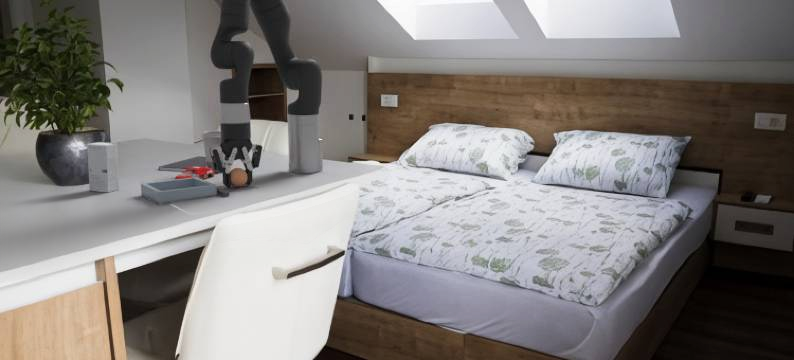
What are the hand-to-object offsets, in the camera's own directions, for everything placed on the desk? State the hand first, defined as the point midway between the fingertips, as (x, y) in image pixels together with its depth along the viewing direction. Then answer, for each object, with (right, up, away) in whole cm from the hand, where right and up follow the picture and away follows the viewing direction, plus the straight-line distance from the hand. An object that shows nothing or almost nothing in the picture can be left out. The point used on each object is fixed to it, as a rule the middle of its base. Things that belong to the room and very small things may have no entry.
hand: (237, 185), depth 166 cm
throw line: (-6, -2, -4) cm, 7 cm away
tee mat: (0, -1, 0) cm, 1 cm away
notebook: (-22, +5, +35) cm, 41 cm away
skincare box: (-33, -1, -3) cm, 33 cm away
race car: (-14, +1, +10) cm, 18 cm away
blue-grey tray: (-12, -3, -9) cm, 16 cm away
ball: (0, 0, 0) cm, 0 cm away
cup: (-12, +4, +23) cm, 26 cm away
